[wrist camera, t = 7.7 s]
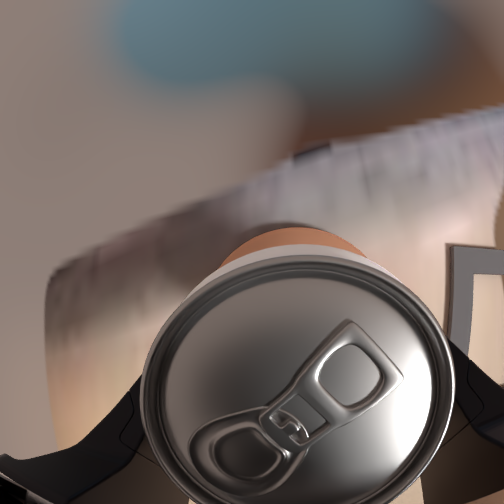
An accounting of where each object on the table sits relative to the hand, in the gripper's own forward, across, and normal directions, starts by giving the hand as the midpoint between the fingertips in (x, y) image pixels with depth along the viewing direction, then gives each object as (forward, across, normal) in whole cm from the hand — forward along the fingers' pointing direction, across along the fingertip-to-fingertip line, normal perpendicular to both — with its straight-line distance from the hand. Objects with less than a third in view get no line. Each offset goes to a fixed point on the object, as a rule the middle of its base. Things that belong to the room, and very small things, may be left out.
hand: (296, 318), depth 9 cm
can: (+4, 0, +6) cm, 7 cm away
